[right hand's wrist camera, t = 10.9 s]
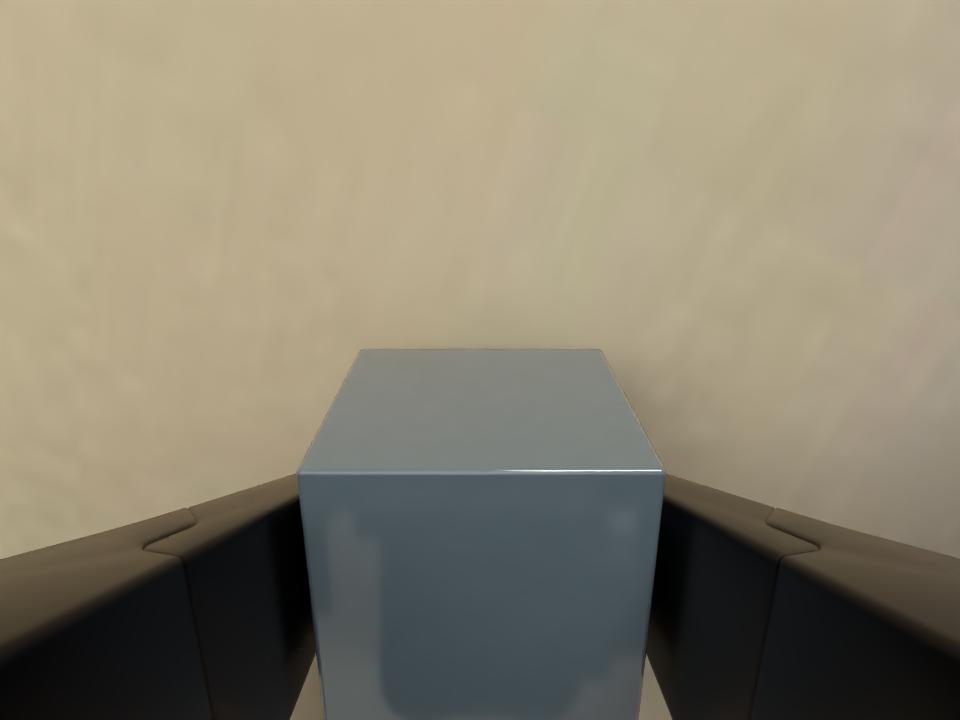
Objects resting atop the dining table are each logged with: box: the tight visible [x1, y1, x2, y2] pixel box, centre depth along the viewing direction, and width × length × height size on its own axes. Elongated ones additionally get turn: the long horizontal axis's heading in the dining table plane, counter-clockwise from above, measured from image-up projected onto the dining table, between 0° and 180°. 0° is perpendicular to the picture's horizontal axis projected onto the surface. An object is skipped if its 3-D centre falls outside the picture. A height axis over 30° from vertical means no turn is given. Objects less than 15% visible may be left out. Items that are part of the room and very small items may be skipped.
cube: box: [296, 349, 666, 720], centre depth 10 cm, size 4×4×4 cm
